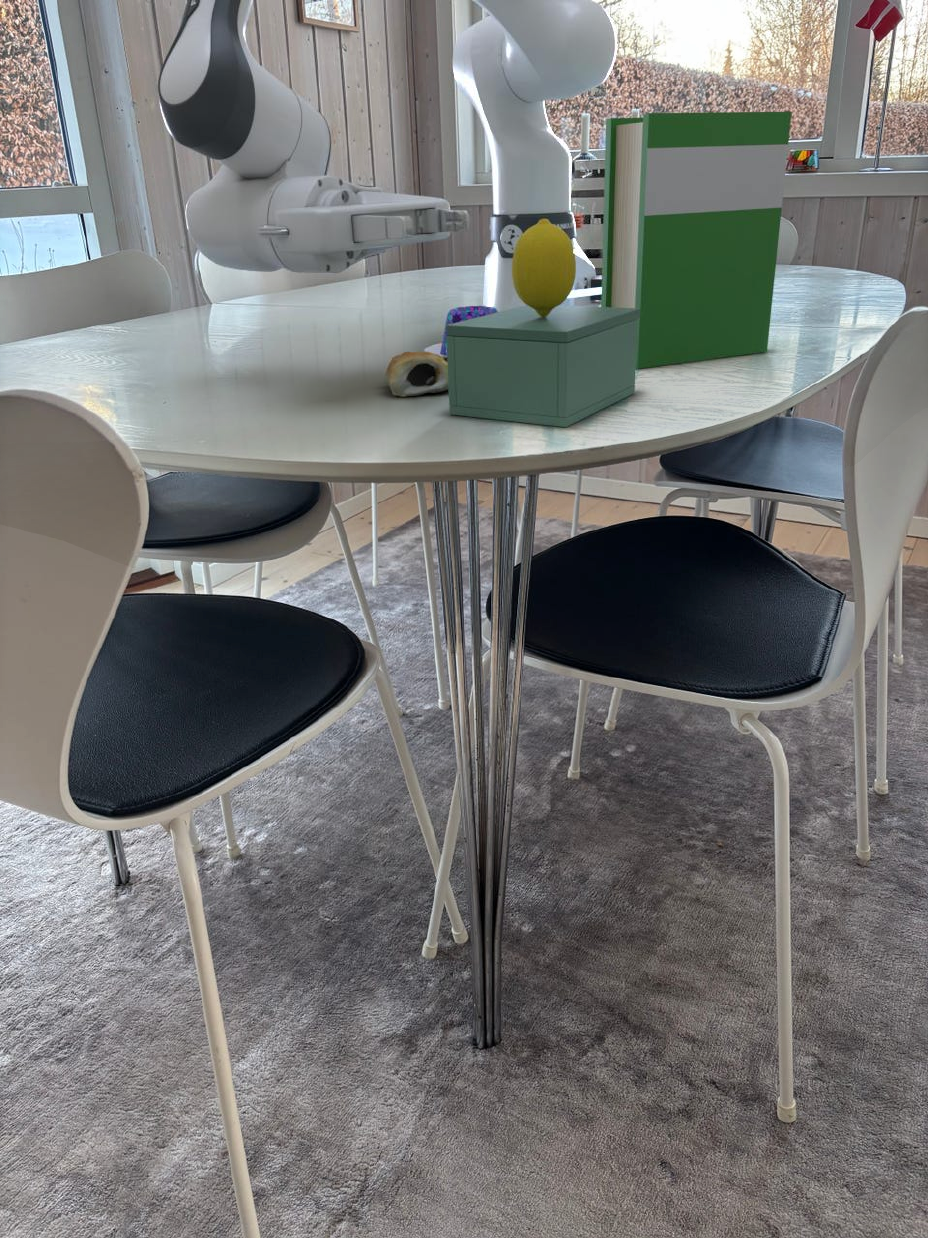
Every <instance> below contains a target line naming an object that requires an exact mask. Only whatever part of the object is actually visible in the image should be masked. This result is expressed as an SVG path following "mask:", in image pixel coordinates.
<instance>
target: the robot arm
mask: <svg viewBox="0 0 928 1238" xmlns="http://www.w3.org/2000/svg"><path fill="white" fill-rule="evenodd" d="M471 1H472V2H474V3H475V4H477V5H479V7H480V8H481V9H483V10H484V11H485V12H486V13H487V14H488V16H486V17H484V18H482V19H481V20H479V21H477V22H474V24H472V25H470V26H469V27H468V28H466V29H465V30H464V31H462V32H461V34H460V35H459V36H458V38H457V40H456V42H455V45H454V48H453V51H452V52H453V53H452V71H453V76H454V80H455V82H456V85H457V87H458V89H459V90H460V92H461V93H462V95H463V96H464V97H465V98H466V99H467V100H468V101H469V102H470V103H471V104H472V106H473V108H474V109H475V111H476V113H477V115H478V117H479V119H480V122H481V125H482V128H483V130H484V134H485V137H486V141H487V145H488V149H489V155H490V164H491V165H490V166H491V181H492V182H491V184H492V211H493V212H492V213H493V214H491V215H490V224H489V231H490V233H489V234H490V241H491V242H492V247H491V250H490V252H489V253H488V254H487V256H486V257H485V259H484V275H483V295H482V306H487V307H494V308H496V309H497V311H498V312H501V311H505V310H509V309H513V308H517V307H521V306H525V305H526V304H525V303H524V302H523V301H522V300H521V299H520V298H519V296H518V295H517V293H516V290H515V288H514V284H513V279H512V261H513V255H514V250H515V247H516V244H517V242H518V240H519V238H520V237H521V236H522V234H523V233H524V232H525V231H526V230H528V229H529V228H530V227H532V226H534V225H536V224H537V223H538V222H539V220H541V219H548V220H549V222H550V223H551V224H553V225H555V226H557V227H559V228H560V229H562V230H563V231H564V232H565V233H566V234H567V235H568V237H569V239H570V240H571V243H572V245H573V249H574V253H575V260H576V275H575V281H574V285H573V288H572V291H571V293H570V294H569V296H568V297H567V299H566V300H565V301H564V302H563V303H562V304H560V305H562V306H589V307H601V295H602V275H597V272H596V268H595V266H594V264H592V262H591V261H590V260H589V258H588V256H587V255H586V254H585V253H584V251H583V250H582V248H581V247H580V246H579V244H578V242H577V240H576V239H577V237H578V234H577V230H582V228H583V225H584V217H583V214H580V213H577V214H574V212H572V211H571V207H572V206H571V203H572V202H571V201H572V200H571V199H572V198H571V195H572V155H571V153H570V152H571V151H570V149H569V148H568V145H567V144H566V143H565V142H564V141H563V140H562V139H561V138H559V136H557V135H556V134H555V133H554V132H553V130H552V128H551V125H550V124H549V120H548V117H547V113H546V107H545V102H548V101H557V100H564V99H565V100H566V99H571V98H572V99H573V98H574V97H577V96H580V95H582V94H584V93H587V92H589V91H591V90H593V89H595V88H598V87H599V86H601V85H602V84H603V83H604V82H605V81H606V80H607V79H608V77H609V75H610V74H611V71H612V69H613V67H614V64H615V60H616V55H617V34H616V30H615V26H614V23H613V20H612V18H611V17H610V14H609V13H608V11H607V10H606V9H605V8H604V7H603V6H602V5H601V4H600V3H598V2H596V1H594V0H471ZM253 2H254V0H187V1H186V4H185V8H184V11H183V15H182V19H181V22H180V26H179V28H178V31H177V33H176V35H175V38H174V40H173V42H172V44H171V46H170V47H169V49H168V52H167V54H166V56H165V59H164V60H163V63H162V66H161V69H160V72H159V75H158V81H157V95H158V96H157V97H158V103H159V107H160V111H161V115H162V118H163V121H164V123H165V126H166V129H167V131H168V132H169V134H170V135H171V137H172V138H173V139H174V141H175V142H177V143H178V144H180V145H181V146H183V147H185V148H187V149H190V150H192V151H194V152H195V153H198V154H200V155H202V156H205V157H206V158H209V159H212V160H214V161H216V162H218V163H219V164H220V165H221V166H220V168H219V169H218V170H217V172H216V173H215V174H214V176H213V177H212V178H211V180H210V181H208V182H207V183H206V184H205V185H203V186H202V187H199V188H198V189H197V190H195V191H194V192H193V193H192V194H191V195H190V196H189V198H188V200H187V203H186V206H185V223H186V227H187V230H188V234H189V236H190V238H191V241H192V242H193V244H194V245H195V247H196V248H197V250H198V251H199V252H200V253H201V254H202V255H203V256H204V257H205V258H206V259H208V260H209V261H211V262H212V263H214V264H216V265H217V266H219V267H220V266H221V267H223V268H227V269H231V270H238V271H246V272H257V273H259V272H261V273H272V272H277V271H279V270H282V269H285V270H287V271H290V272H292V273H301V274H305V273H306V274H340V273H342V272H344V271H346V270H348V268H350V267H351V266H353V265H355V264H357V263H359V262H361V261H362V260H366V259H369V258H371V257H374V256H379V255H381V254H385V253H386V252H387V249H391V248H397V247H402V246H409V245H414V244H421V243H429V242H434V241H441V240H444V239H447V238H449V237H450V236H451V233H452V232H465V231H468V230H469V229H470V213H469V211H467V210H466V209H463V210H462V209H461V210H460V209H459V210H458V209H457V210H456V209H455V210H454V209H451V207H450V205H451V204H450V203H449V201H448V200H447V199H445V198H441V197H435V196H426V195H418V194H417V195H416V194H407V193H406V194H405V193H393V192H384V191H383V188H382V187H381V186H374V185H361V184H355V183H353V182H350V181H347V180H344V179H342V178H340V177H337V176H335V175H332V174H331V175H328V173H329V172H328V171H329V167H330V160H331V155H332V137H331V131H330V128H329V125H328V122H327V120H326V118H325V116H324V115H323V114H322V113H321V112H320V111H319V110H318V109H316V108H315V106H313V105H312V104H311V103H310V102H308V101H307V100H306V99H305V98H303V97H302V95H300V94H299V93H297V91H295V90H293V89H292V88H291V87H289V86H288V85H286V84H285V83H284V82H282V81H281V80H280V79H278V78H277V77H276V76H275V75H273V74H272V73H271V72H269V71H268V70H267V69H266V68H265V67H263V66H262V65H261V64H259V62H257V60H256V58H255V57H254V55H253V54H252V51H251V50H250V48H249V46H248V45H249V44H248V43H247V38H246V28H247V25H248V21H249V18H250V14H251V11H252V7H253Z"/></svg>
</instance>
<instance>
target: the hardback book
mask: <svg viewBox="0 0 928 1238" xmlns="http://www.w3.org/2000/svg"><path fill="white" fill-rule="evenodd" d="M791 121H792V111H723V112H721V111H720V112H719V111H717V112H716V111H715V112H711V111H710V112H647V113H643V114H642V117H608V118H606V119H605V145H604V146H605V147H604V151H605V152H604V182H603V183H604V186H603V187H604V188H603V194H604V195H603V222H602V223H603V225H602V257H601V259H602V265H601V276H602V295H601V307H615V308H640V309H641V311H640V318H638V328H637V351H636V370H640V369H647V368H654V367H662V366H669V365H676V364H677V365H678V364H685V363H691V362H701V361H707V360H713V359H715V360H716V359H720V358H721V359H722V358H728V357H729V358H731V357H736V356H744V355H752V354H758V353H759V354H760V353H767V352H768V347H769V346H768V345H769V337H770V328H771V317H772V307H773V298H774V287H775V278H776V277H775V276H776V270H777V269H776V268H777V259H778V249H779V247H778V246H779V240H780V239H779V238H780V229H781V221H782V220H781V219H782V209H783V201H784V190H785V189H784V188H785V180H786V170H787V163H788V162H787V161H788V152H789V151H788V150H789V141H790V130H791V123H792V122H791Z"/></svg>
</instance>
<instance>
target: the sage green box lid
mask: <svg viewBox="0 0 928 1238" xmlns="http://www.w3.org/2000/svg"><path fill="white" fill-rule="evenodd" d="M640 311H641V309H640V308H615V307H589V306H562V305H559V306H557V307H555V308H554V309H553V310H552V311H551V312H550V313H549V314H548V316H545V317H542V316H540V315H539V314H538V313H537V312H536V311H535V309H533V308H531V307H529V306H527V305H525V306H521V307H517V308H513V309H509V310H505V311H501V312H497V313H493V314H489V315H485V316H481V317H477V318H473V319H469V320H465V321H461V322H457V323H453V324H449V325H446V335H449V336H465V337H482V338H498V339H515V340H532V341H548V342H565V343H567V342H570V341H573V340H576V339H579V338H582V337H585V336H588V335H591V334H594V333H597V332H600V331H603V330H606V329H609V328H612V327H615V326H618V325H621V324H623V323H626V322H629V321H632V320H635V319H638V318H640Z"/></svg>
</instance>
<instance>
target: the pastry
mask: <svg viewBox="0 0 928 1238" xmlns="http://www.w3.org/2000/svg"><path fill="white" fill-rule="evenodd" d="M384 374H385V378H386V380H387V381H388V382H389V388H390V390H391V393H392V395H393V396H399V397H403V398H405V397H417V396H421V395H424V394H428V393H433V394H437V393H441V392H445V391H449V387H448V363H447V360H445V358H443V357H442V356H440V355H439V354H434V353H431V352H427V351H424V350H423V351H404V352H402V353H400V354H397V355H395V356H393V357H392V358H391V360H390V361H389V363H388V364H387V367H386V371H385V373H384Z"/></svg>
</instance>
